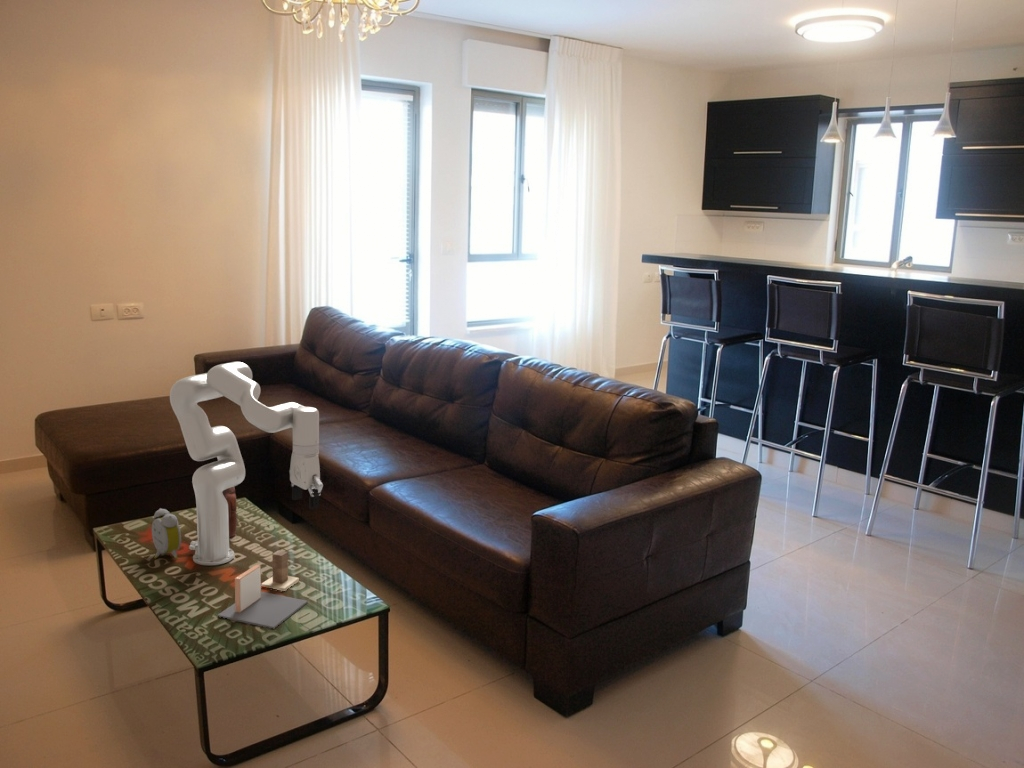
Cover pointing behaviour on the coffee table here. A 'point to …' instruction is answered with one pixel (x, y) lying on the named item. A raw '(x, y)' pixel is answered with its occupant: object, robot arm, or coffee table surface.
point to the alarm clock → (166, 533)
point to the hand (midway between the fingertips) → (305, 503)
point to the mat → (266, 610)
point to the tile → (247, 588)
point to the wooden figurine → (231, 509)
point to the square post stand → (280, 573)
